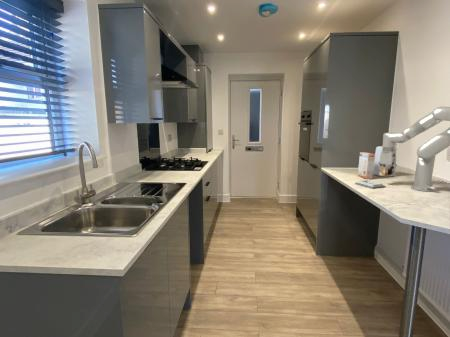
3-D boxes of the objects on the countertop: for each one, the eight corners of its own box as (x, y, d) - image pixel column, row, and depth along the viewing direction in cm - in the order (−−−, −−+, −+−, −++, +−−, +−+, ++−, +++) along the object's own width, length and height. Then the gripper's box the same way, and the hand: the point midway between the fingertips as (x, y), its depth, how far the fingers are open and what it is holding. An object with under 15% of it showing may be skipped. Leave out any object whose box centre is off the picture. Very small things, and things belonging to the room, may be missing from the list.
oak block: (393, 175, 193) (394, 167, 192) (384, 176, 190) (385, 168, 189) (388, 174, 197) (388, 166, 196) (379, 175, 195) (379, 167, 194)
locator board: (385, 187, 186) (386, 183, 186) (371, 188, 182) (372, 185, 182) (368, 182, 200) (368, 179, 200) (355, 184, 196) (355, 180, 196)
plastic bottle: (383, 177, 219) (387, 144, 214) (369, 174, 234) (372, 143, 229) (397, 176, 223) (401, 144, 218) (382, 173, 238) (386, 142, 232)
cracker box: (372, 179, 212) (375, 154, 208) (365, 179, 212) (368, 154, 208) (364, 175, 226) (366, 152, 222) (357, 175, 226) (359, 152, 222)
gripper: (403, 150, 184) (401, 175, 187) (381, 148, 200) (380, 171, 203) (395, 150, 182) (393, 176, 185) (374, 149, 198) (373, 172, 200)
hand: (386, 173), depth 194 cm, fingers closed on oak block, 4 cm apart
